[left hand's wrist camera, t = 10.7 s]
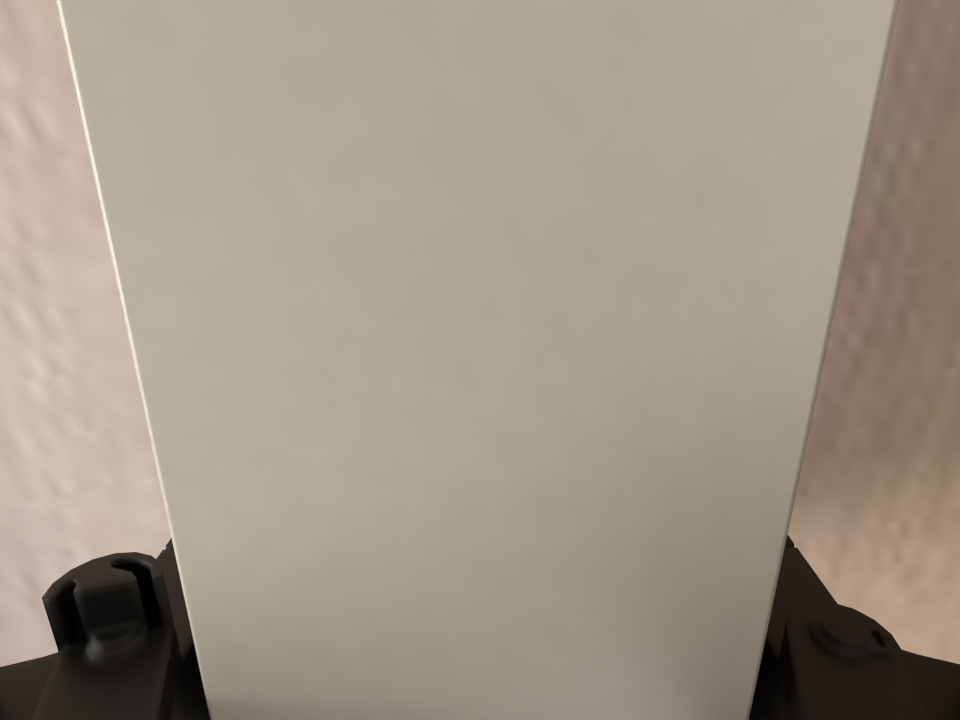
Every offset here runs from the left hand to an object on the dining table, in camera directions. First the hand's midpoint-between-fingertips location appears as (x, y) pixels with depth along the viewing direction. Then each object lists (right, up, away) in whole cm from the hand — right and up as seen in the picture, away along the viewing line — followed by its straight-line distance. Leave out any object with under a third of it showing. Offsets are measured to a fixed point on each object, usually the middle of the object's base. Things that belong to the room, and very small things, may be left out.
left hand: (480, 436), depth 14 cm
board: (0, +17, -6) cm, 18 cm away
